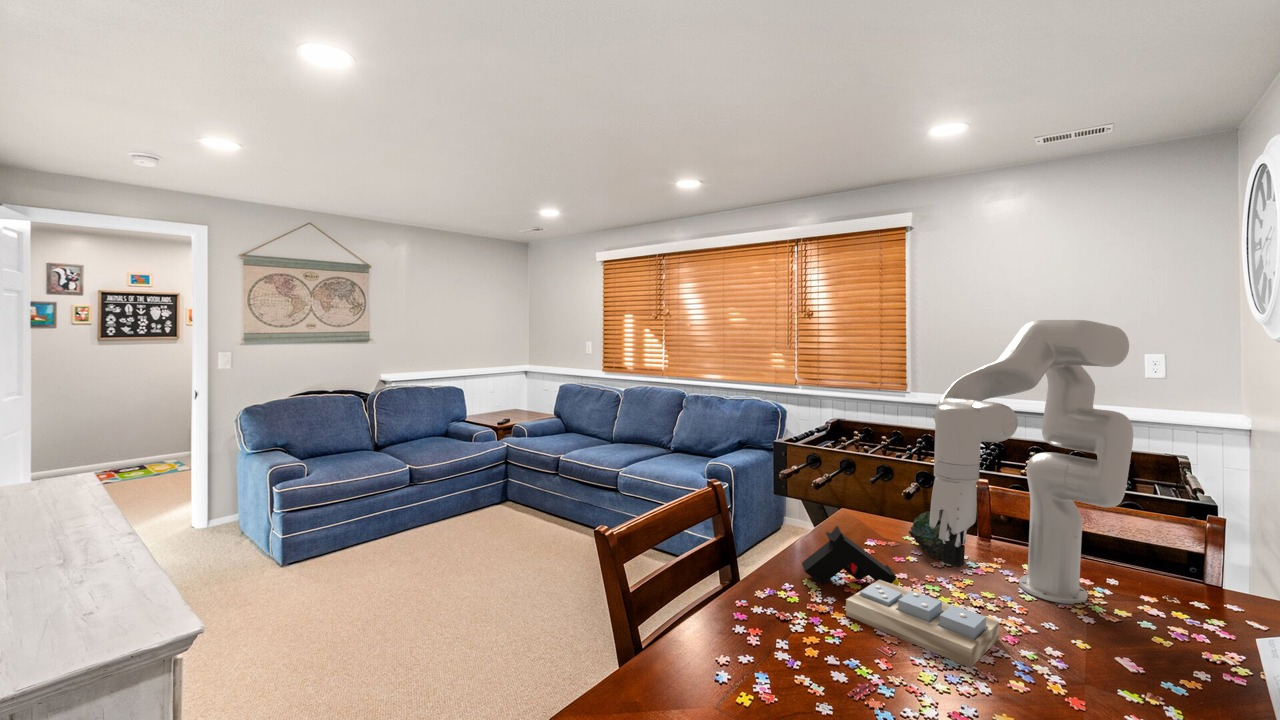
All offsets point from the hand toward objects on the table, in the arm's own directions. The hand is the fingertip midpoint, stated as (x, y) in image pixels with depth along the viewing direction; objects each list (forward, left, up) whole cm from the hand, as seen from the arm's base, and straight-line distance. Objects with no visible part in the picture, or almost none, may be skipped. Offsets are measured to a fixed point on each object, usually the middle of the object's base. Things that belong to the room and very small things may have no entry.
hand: (953, 564), depth 110 cm
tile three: (0, -14, -13) cm, 19 cm away
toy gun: (-8, -26, -15) cm, 31 cm away
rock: (-40, -21, -15) cm, 48 cm away
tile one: (0, +2, -12) cm, 12 cm away
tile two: (0, -6, -12) cm, 13 cm away
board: (0, -6, -15) cm, 16 cm away
